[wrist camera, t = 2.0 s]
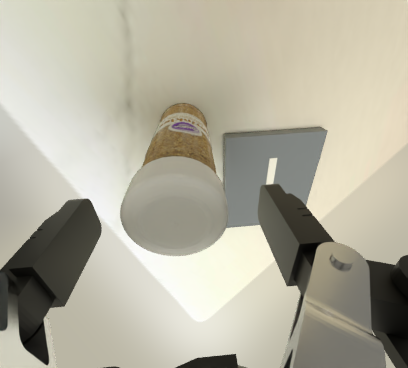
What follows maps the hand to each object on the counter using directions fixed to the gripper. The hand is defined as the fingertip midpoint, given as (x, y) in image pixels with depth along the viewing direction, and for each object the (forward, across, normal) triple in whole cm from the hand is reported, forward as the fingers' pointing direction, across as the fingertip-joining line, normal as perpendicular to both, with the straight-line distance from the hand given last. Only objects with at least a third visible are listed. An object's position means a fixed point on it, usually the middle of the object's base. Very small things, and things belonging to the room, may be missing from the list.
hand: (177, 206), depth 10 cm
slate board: (+12, -9, +6) cm, 16 cm away
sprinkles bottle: (+12, 0, 0) cm, 12 cm away
